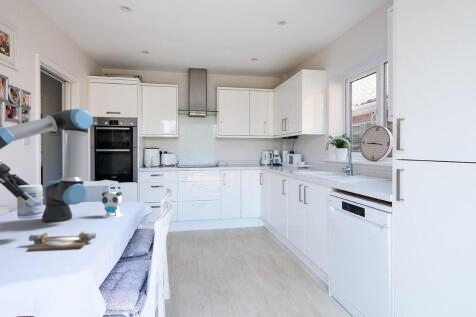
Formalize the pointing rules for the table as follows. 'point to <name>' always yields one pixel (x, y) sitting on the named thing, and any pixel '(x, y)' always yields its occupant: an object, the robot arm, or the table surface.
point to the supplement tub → (27, 210)
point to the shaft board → (60, 242)
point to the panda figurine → (112, 204)
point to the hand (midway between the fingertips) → (38, 201)
